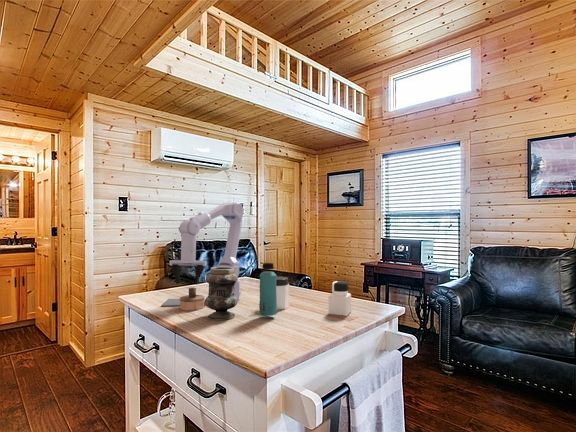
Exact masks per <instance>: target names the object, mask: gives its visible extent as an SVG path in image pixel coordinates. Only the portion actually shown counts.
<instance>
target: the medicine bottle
mask: <svg viewBox="0 0 576 432" xmlns="http://www.w3.org/2000/svg"><path fill="white" fill-rule="evenodd" d="M331 292H332V293H331V294H329V295H328V314H329V315H335V316H342V315H343V317H347V316H348V315H349V314H350V313H352V293H350V292H349V283H348V282H347V281H343V280H336V281H335V280H334V281H333V282H332V283H331Z"/></svg>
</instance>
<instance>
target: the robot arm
mask: <svg viewBox="0 0 576 432" xmlns="http://www.w3.org/2000/svg"><path fill="white" fill-rule="evenodd" d="M243 215H244V207H243V205H242V204H241V203H240V202H223V203H221V204H218V206H216V207H214V208H212V209H211V210H210V211H208V212H202V211H199V212H198V213H197V215H195V216H191V217H189V219H187V220H183V221H181V223H180V225H179V226H178V232H179V233H180V237H181V244H180V248H181V249H180V259H173V260H169V266H171V267H170V268H171V270H172V272H173V276H174V277H175V278H174V279H175V282H176V284H177V285H179V284H180V283H181V270H182V267H183V266H184V267H185V266H187V267H188V266H190V267H191V266H193V267H194V271H195V274H194V275H195V280H194V283H195V285H199V284H200V283H199V282H200V279H201V276H202V273H203V271H204V269H205V267H207V262H208V261H207V260H196V258H197V250H196V249H197V234H198V233H199V232H200V230H201V229H204V228H205V227H207V226H208V225H210V223H211V220H213V219H215V218H218V217H220V216H222V217H223V218H224V219H225V220H226V221H227V222H228V223H229V229H228V233H227V234H228V235H227V239H226V245H225V250H224V255H223V257H222V258H221V259H219V260H218V261H219V263H218V264H217V266H216V267H232V268H234V273H235V274H236V275H237V276H238V277H239V276H240V275H239V274H240V262H239V260H237V254H238V248H239V242H240V238H241V231H242V228H243V227H242V226H243V217H244V216H243ZM235 296H236V297H237V298H238V301H239V300H240V298H241V278H238V281H237V282H236V283H235Z"/></svg>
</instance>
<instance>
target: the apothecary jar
mask: <svg viewBox="0 0 576 432" xmlns="http://www.w3.org/2000/svg"><path fill="white" fill-rule="evenodd" d="M238 279H239V275H238V276H237V275H236V274H235V273H234V268H232V267H217V266H212V267H210V271H209V273H208V274H207V275H206V276H205V282H206V283H207V284H208V292H207V293H208V295H207V296H206V297H205V298H204V306H206V307H207V308H208V309H210V310H213V311H214V312H211V313H210V314H209V315H208V316H207V318H208V319H209V320H211V321H227V320H230V319H233V318H235V317H236V315H235V313H233V311H229V310H230V309H233V308H235V307H236V306H237V305H238V303H239V300H238V298H237V297H236V296H235V283H236V282H237V281H238Z"/></svg>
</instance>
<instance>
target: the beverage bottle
mask: <svg viewBox="0 0 576 432" xmlns="http://www.w3.org/2000/svg"><path fill="white" fill-rule="evenodd" d="M274 267H275V266H274V262H263V263H262V269H263V270H274ZM276 276H278V275H277V274H276V273H275V272H274V271H262V272H261V273H260V274H259V285H258V286H259V301H258V303H259V305H258V306H259V307H258V308H259V310H258V311H259V315H261V316H266V317H267V316H268V317H269V316H270V317H271V316H275V315H277V311H278V309H277V295H276Z"/></svg>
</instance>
